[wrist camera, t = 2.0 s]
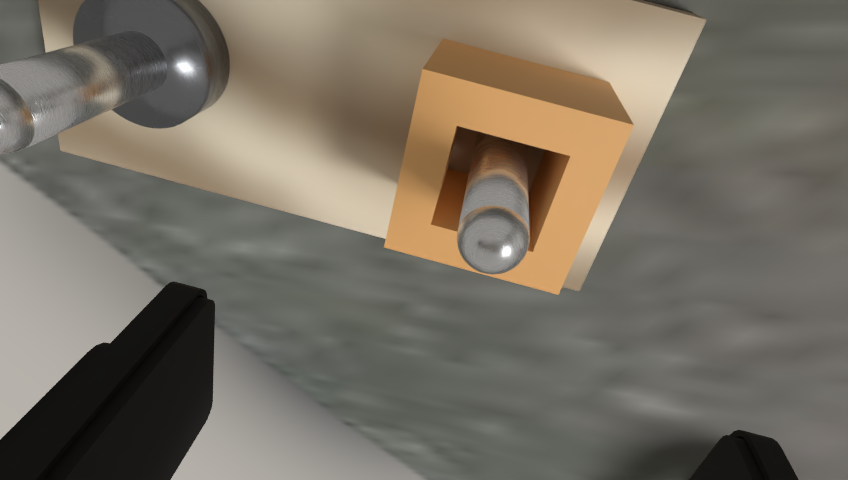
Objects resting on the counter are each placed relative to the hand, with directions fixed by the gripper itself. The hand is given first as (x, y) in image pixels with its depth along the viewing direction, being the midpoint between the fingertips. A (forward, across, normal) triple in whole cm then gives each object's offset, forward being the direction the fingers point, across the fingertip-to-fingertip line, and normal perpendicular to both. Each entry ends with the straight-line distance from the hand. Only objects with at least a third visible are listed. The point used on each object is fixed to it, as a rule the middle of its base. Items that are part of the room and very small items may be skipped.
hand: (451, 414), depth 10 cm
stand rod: (+14, -1, -1) cm, 14 cm away
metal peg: (+14, +13, -1) cm, 20 cm away
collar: (+14, -1, -1) cm, 14 cm away
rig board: (+16, +6, -1) cm, 17 cm away
